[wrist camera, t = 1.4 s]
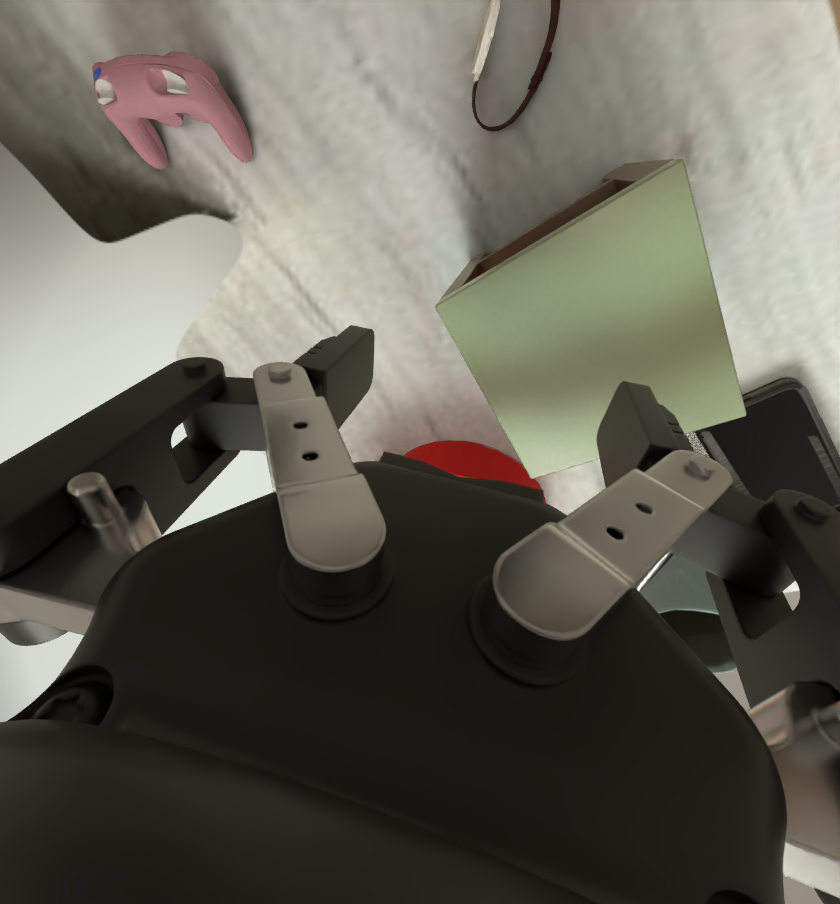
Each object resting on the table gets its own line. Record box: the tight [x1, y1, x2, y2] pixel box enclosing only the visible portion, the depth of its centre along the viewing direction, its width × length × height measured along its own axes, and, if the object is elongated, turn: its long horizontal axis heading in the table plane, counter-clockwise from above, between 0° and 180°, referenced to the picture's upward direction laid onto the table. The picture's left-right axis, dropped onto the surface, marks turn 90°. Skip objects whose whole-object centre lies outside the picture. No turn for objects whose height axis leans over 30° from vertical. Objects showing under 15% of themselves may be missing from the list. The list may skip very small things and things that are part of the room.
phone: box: [694, 378, 840, 512], centre depth 34 cm, size 8×1×15 cm
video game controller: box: [93, 52, 253, 169], centre depth 29 cm, size 10×5×7 cm, turn 93°
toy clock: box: [404, 441, 546, 503], centre depth 46 cm, size 20×6×20 cm
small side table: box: [435, 159, 746, 479], centre depth 26 cm, size 13×12×14 cm
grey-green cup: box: [640, 555, 737, 674], centre depth 39 cm, size 10×10×12 cm
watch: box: [471, 0, 560, 131], centre depth 23 cm, size 8×5×4 cm, turn 164°
